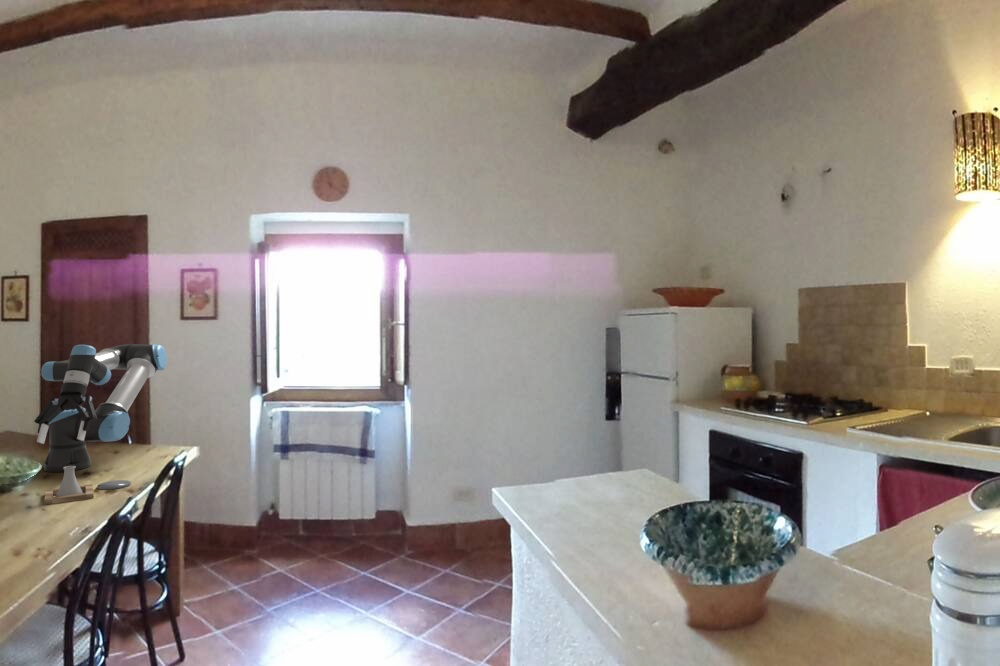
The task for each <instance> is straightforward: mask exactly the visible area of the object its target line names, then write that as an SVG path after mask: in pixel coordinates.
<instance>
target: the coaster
mask: <svg viewBox="0 0 1000 666" xmlns="http://www.w3.org/2000/svg"><path fill="white" fill-rule="evenodd" d="M131 485H132V484H131V481H130V480H123V479H119V480H109V481H105V482H102V483H98V484H97V486H96V488H97V490H101V491H107V490H109V491H111V490H118V489H123V488H127V487H129V486H131Z"/></svg>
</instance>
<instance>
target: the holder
mask: <svg viewBox="0 0 1000 666" xmlns="http://www.w3.org/2000/svg"><path fill="white" fill-rule="evenodd" d="M79 486H80V488H81V490H82V492H83V494H75V495H68V496H60V497H56V494H57V492H58V490H59V488H53V489H51V488H50V489H46V490H45V493H44V494H45V495H44V506H46V505H52V504H53V505H54V504H60V503H67V502H68V503H69V502H75V501H76V502H77V501H82V500H83V501H84V500H89V499H90V500H91V499H94V497H95V496H94V495H95V494H94V487H93V484H85V485H83V484H82V485H79ZM84 492H85V493H84Z"/></svg>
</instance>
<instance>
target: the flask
mask: <svg viewBox="0 0 1000 666" xmlns="http://www.w3.org/2000/svg"><path fill="white" fill-rule="evenodd" d="M75 468H76V466H67V467H64V468H63V469H64V472H63V473H64V474H63V478H62V481H61V483H60V486H59V487H58V489H59V490H58V492H57V494H56V495H55V497H60V496H68V495H75V494H83V493H84V491H82V490H81V488H80V486H81V485H79V481H78V479H77V478H76V475H75V471H76V470H74V469H75Z"/></svg>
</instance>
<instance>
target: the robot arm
mask: <svg viewBox="0 0 1000 666" xmlns="http://www.w3.org/2000/svg"><path fill="white" fill-rule="evenodd" d="M167 360H168V359H167V352H166V349H165V347H164V346H162V345H160V344H154V343H153V344H141V343H139V344H138V343H137V344H135V343H127V344H126V343H125V344H119V345H116V346H112V347H111V346H110V347H107V348H103V349H102V350H101V349H100V350H99V351H98V352H97V349H96V348H95V347H94V346H92V345H88V344H76V345H74V346H73V347H72V350H71V352H70V354H69V359H67V360H66V359H65V360H61V361H55V360H54V361H47V362H45V363H44V364H42V367H41V371H40V372H41V373H40V374H41V377H42V379H44V380H45V381H47V382H48V381H49V382H63V384H62V385H61V389H60V397H59V398H55V397H52V396H51V397H50V398H49V400H48V402H47V404H46V405H45V406H44V407H43V409H42V410H41V412H40V413H39V414H38V415H37V417H36V418H35V419H34V421H33V422H34V423H35V424H37V425H38V429H37V440H36V442H37V443H39V444H41V445H44V444H45V442H46V437H47V434H48V431H49V449H48V453H47V455H46V457H45V461H44V462H43V463H44V464H43V471H44V472H50V473H59V472H60V473H62V472H63V473H64V469H63V468H64V467H67V466H76V468H75V469H74V471H78V470H83V469H87V468H88V467H90V466H92V459H91V456H90V453H89V451H88V449H87V443H86V442H105V443H106V442H108V443H109V442H117V441H119V440H121V439H124V437H125V436H126V434H127V433H128V432H129V429H130V427H129V426H130V425H131V417H130V416H129V412H128V411H129V410H130V408H131V406H132V404H133V403H134V401H135V399H136V398H137V396H138V394H139V393H140V391H141V390H142V388H143V386H145V383H146V381H147V380H148V379H149V378H151V377H154V375H155V374H156V372H157V371H164V370H165V368H166V367H167ZM112 370H126V371H125V372H124V374H123V375H122V377H121V378H120V380H119V382H118V383H117V385H116V386H115V388H114V389H113V391H112V393H110V395H109V397H108V398H107V400H106V401H105V402H103V403H100V404H99V405H98V406H97V407H96V409H95V406H94V404H93V401H94V398H93V397H92V396H91V395H89V394H87V390H88V385H89V383H92V384H94V385H95V386H102V385H106V384H107V383H108V382H109V381H110V380H111V377H112V372H111V371H112ZM86 394H87V395H86ZM83 403H85V407H83V405H82V404H83Z"/></svg>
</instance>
